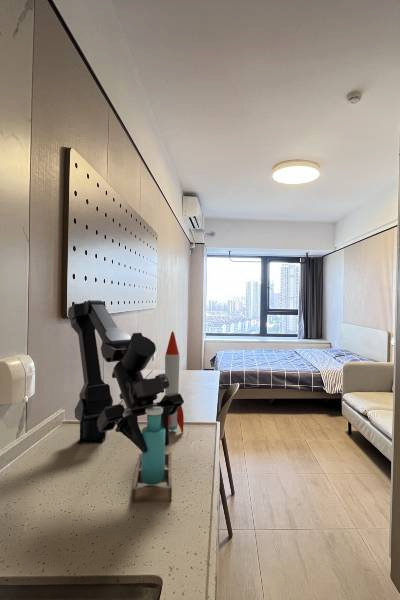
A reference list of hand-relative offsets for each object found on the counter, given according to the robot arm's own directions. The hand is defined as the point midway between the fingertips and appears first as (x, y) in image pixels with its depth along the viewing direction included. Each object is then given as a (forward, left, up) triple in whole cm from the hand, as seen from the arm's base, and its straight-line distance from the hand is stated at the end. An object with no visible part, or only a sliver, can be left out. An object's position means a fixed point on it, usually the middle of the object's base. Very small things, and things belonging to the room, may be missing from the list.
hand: (156, 448), depth 69 cm
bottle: (-1, +1, -7) cm, 7 cm away
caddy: (-1, +5, -9) cm, 10 cm away
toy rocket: (+3, +32, -9) cm, 34 cm away
